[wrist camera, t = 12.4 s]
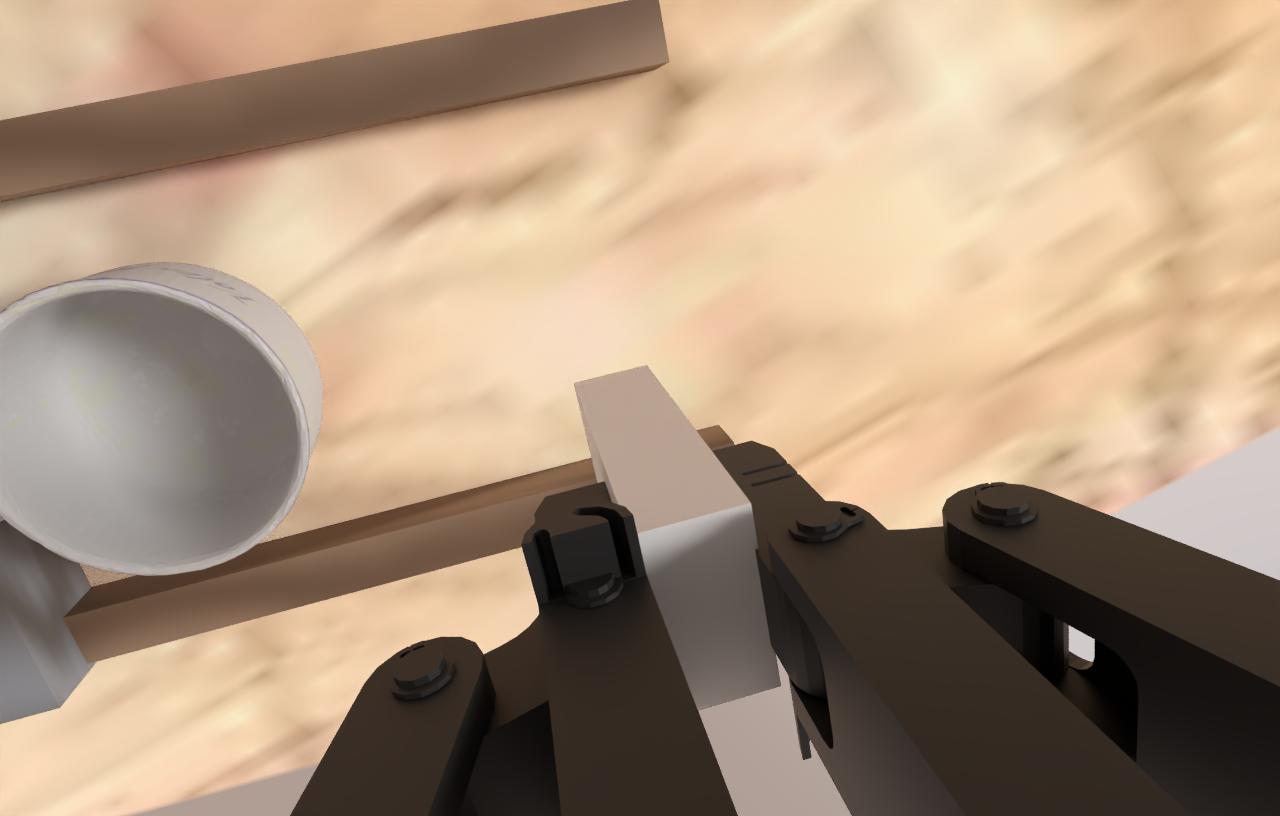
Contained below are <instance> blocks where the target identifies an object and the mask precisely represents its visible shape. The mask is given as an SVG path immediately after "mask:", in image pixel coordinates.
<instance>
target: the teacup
mask: <svg viewBox="0 0 1280 816" xmlns="http://www.w3.org/2000/svg"><path fill="white" fill-rule="evenodd" d="M322 413H323V385H322V378H321V373H320V370H319V366H318V362H317V359H316V357H315V354H314V352H313V349H312V347H311V346H310V344H309V342H308V340H307V338H306V337H305V335H304V334H303V332H302V330H301V329H300V327H299V326H298V325H297V323H296V322H295V321H294V320H293V319H292V318H291V316H290V315H289V314H288V313H287V312H286V311H285V310H284V309H283V308H282V307H281V306H279V305H278V304H277V303H276V302H275V301H274V300H272V299H271V298H270V297H268V296H267V295H266V294H264V293H263V292H262V291H260V290H259V289H257V288H255V287H254V286H252V285H250V284H248V283H246V282H244V281H243V280H241V279H238V278H236V277H234V276H231V275H228V274H226V273H223V272H220V271H217V270H214V269H210V268H206V267H202V266H198V265H191V264H183V263H166V262H162V263H144V264H136V265H130V266H124V267H119V268H116V269H112V270H108V271H104V272H101V273H97V274H94V275H91V276H88V277H85V278H82V279H79V280H75V281H69V282H64V283H61V284H57V285H53V286H49V287H47V288H44V289H41V290H39V291H36V292H33V293H31V294H28V295H26V296H24V297H23V298H22V299H20V300H18V301H16V302H14V303H12V304H10V305H9V306H8V308H6V309H4V310H3V311H1V312H0V522H1V521H3V520H4V519H5V520H6V521H7V522H8V523H9V524H11V525H12V526H13V527H15V528H16V529H18V530H19V531H20V532H22V533H23V534H24V535H26V536H27V537H29V538H30V539H32V540H34V541H36V542H38V543H40V544H42V545H43V546H44V547H46V548H47V549H48V550H50V551H52V552H54V553H56V554H58V555H60V556H62V557H64V558H66V559H69V560H71V561H74V562H77V563H79V564H82V565H85V566H89V567H93V568H97V569H101V570H105V571H109V572H115V573H121V574H130V575H144V576H156V575H171V574H178V573H185V572H191V571H197V570H203V569H206V568H209V567H212V566H215V565H218V564H221V563H224V562H226V561H228V560H231V559H233V558H235V557H237V556H239V555H240V554H242V553H244V552H246V551H248V550H249V549H251V548H252V547H253V546H255V545H256V544H258V543H259V542H260V541H261V540H263V539H264V538H265V537H266V536H267V535H269V534H270V533H271V532H272V531H273V530H274V529H275V528H276V527H277V526H278V525H279V524H280V523H281V521H282V520H283V519H284V517H285V516H286V515H287V514H288V512H289V511H290V510H291V508H292V506H293V504H294V503H295V501H296V499H297V497H298V495H299V493H300V490H301V488H302V485H303V483H304V480H305V476H306V472H307V469H308V462H309V459H310V457H311V454H312V451H313V448H314V446H315V443H316V440H317V436H318V433H319V429H320V425H321V420H322Z"/></svg>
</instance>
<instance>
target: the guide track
mask: <svg viewBox="0 0 1280 816" xmlns="http://www.w3.org/2000/svg"><path fill="white" fill-rule="evenodd" d="M668 62H669V58H668V52H667V46H666V40H665V34H664V28H663V22H662V16H661V10H660V5H659V0H629V1H624V2H619V3H614V4H608V5H603V6H598V7H593V8H587V9H582V10H577V11H572V12H566V13H561V14H556V15H551V16H546V17H540V18H535V19H530V20H525V21H519V22H514V23H509V24H504V25H498V26H493V27H488V28H483V29H477V30H472V31H467V32H462V33H456V34H451V35H446V36H441V37H436V38H430V39H425V40H420V41H415V42H409V43H404V44H399V45H394V46H388V47H383V48H378V49H373V50H367V51H362V52H357V53H352V54H346V55H341V56H336V57H331V58H326V59H320V60H315V61H310V62H305V63H299V64H294V65H289V66H284V67H278V68H273V69H268V70H263V71H257V72H252V73H247V74H242V75H236V76H231V77H226V78H221V79H215V80H210V81H205V82H200V83H195V84H189V85H184V86H179V87H174V88H168V89H163V90H158V91H153V92H147V93H142V94H137V95H132V96H126V97H121V98H116V99H111V100H105V101H100V102H95V103H90V104H85V105H79V106H74V107H69V108H64V109H58V110H53V111H48V112H43V113H37V114H32V115H27V116H22V117H16V118H11V119H6V120H1V121H0V202H2V201H7V200H12V199H17V198H22V197H27V196H32V195H36V194H41V193H46V192H51V191H56V190H61V189H66V188H71V187H76V186H81V185H86V184H91V183H96V182H101V181H106V180H111V179H116V178H121V177H126V176H130V175H135V174H140V173H145V172H150V171H155V170H160V169H165V168H170V167H175V166H180V165H185V164H190V163H195V162H200V161H205V160H210V159H215V158H220V157H224V156H229V155H234V154H239V153H244V152H249V151H254V150H259V149H264V148H269V147H274V146H279V145H284V144H289V143H294V142H299V141H304V140H309V139H314V138H318V137H323V136H328V135H333V134H338V133H343V132H348V131H353V130H358V129H363V128H368V127H373V126H378V125H383V124H388V123H393V122H398V121H403V120H408V119H412V118H417V117H422V116H427V115H432V114H437V113H442V112H447V111H452V110H457V109H462V108H467V107H472V106H477V105H482V104H487V103H492V102H497V101H502V100H506V99H511V98H516V97H521V96H526V95H531V94H536V93H541V92H546V91H551V90H556V89H561V88H566V87H571V86H576V85H581V84H586V83H591V82H596V81H600V80H605V79H610V78H615V77H620V76H625V75H630V74H635V73H640V72H645V71H650V70H655V69H658V68H659V67H661V66H663V65H665V64H666V63H668ZM697 432H698V434H699V435H700V436H701V437H702V439H703V440H704V441H705V443H706V444H707V445H708V447H709V448H710V449H711V451H714V450H718V449H722V448H726V447H729V446H733V445H734V442H733V441H732V440H731V438H730V437H729V436H728V435H727V434H726V433H725V432H724V430H723V429H722V428H721V427H720V426H719V425H718V426H714V427H710V428H706V429H702V430H698V431H697ZM596 483H597V479H596V474H595V470H594V466H593V462H592V458H590V459H586V460H582V461H579V462H575V463H571V464H567V465H563V466H559V467H555V468H551V469H548V470H544V471H540V472H536V473H532V474H528V475H524V476H521V477H517V478H513V479H509V480H505V481H501V482H497V483H493V484H490V485H486V486H482V487H478V488H474V489H470V490H466V491H463V492H459V493H455V494H451V495H447V496H443V497H439V498H436V499H432V500H428V501H424V502H420V503H416V504H412V505H408V506H405V507H401V508H397V509H393V510H389V511H385V512H381V513H378V514H374V515H370V516H366V517H362V518H358V519H354V520H350V521H347V522H343V523H339V524H335V525H331V526H327V527H323V528H320V529H316V530H312V531H308V532H304V533H300V534H296V535H293V536H289V537H285V538H281V539H277V540H273V541H269V542H265V543H262V544H258V545H255V546H253V547H252V548H251V549H249V550H248V551H246V552H244V553H242V554H240V555H239V556H237V557H235V558H233V559H231V560H228V561H226V562H224V563H221V564H218V565H215V566H212V567H209V568H206V569H203V570H197V571H191V572H185V573H178V574H171V575H156V576H144V575H138V576H134V577H130V578H126V579H122V580H119V581H115V582H111V583H107V584H103V585H99V586H95V587H92V588H91V586H90V584H89V582H88V580H87V578H86V576H85V574H84V572H83V570H82V568H81V566H80V564H79V563H77V562H74V561H71V560H69V559H66V558H64V557H62V556H60V555H58V554H56V553H54V552H52V551H50V550H48V549H47V548H46V547H44V546H43V545H42V544H40V543H38V542H36V541H34V540H32V539H30V538H29V537H27V536H26V535H24V534H23V533H22V532H20V531H19V530H18V529H16V528H15V527H13V526H12V525H11V524H9V523H8V522H7V521H6V520H5V519H4V520H3V521H1V522H0V724H2V723H6V722H10V721H13V720H17V719H20V718H24V717H28V716H31V715H35V714H39V713H42V712H46V711H50V710H53V709H57V708H60V707H61V706H62V705H63V703H64V702H65V701H66V700H67V698H68V697H69V696H70V694H71V693H72V692H73V691H74V689H75V688H76V687H77V686H78V684H79V683H80V682H81V681H82V679H83V678H84V677H85V676H86V674H87V673H88V672H89V671H90V669H91V668H92V667H93V665H94V664H95V663H96V662H97V661H100V660H104V659H107V658H111V657H115V656H119V655H122V654H126V653H130V652H133V651H137V650H141V649H145V648H148V647H152V646H156V645H159V644H163V643H167V642H171V641H174V640H178V639H182V638H185V637H189V636H193V635H197V634H200V633H204V632H208V631H211V630H215V629H219V628H223V627H226V626H230V625H234V624H237V623H241V622H245V621H249V620H252V619H256V618H260V617H263V616H267V615H271V614H275V613H278V612H282V611H286V610H289V609H293V608H297V607H301V606H304V605H308V604H312V603H315V602H319V601H323V600H327V599H330V598H334V597H338V596H341V595H345V594H349V593H353V592H356V591H360V590H364V589H367V588H371V587H375V586H379V585H382V584H386V583H390V582H393V581H397V580H401V579H405V578H408V577H412V576H416V575H419V574H423V573H427V572H431V571H434V570H438V569H442V568H445V567H449V566H453V565H457V564H460V563H464V562H468V561H471V560H475V559H479V558H483V557H486V556H490V555H494V554H497V553H501V552H505V551H509V550H512V549H516V548H520V547H522V546H521V544H522V540H523V537H524V534H525V532H526V531H527V530H528V529H529V528H530V527H531V526H532V525H533V524H534V523H535V517H534V513H535V512H536V510H537V509H538V507H539V505H540V504H541V502H542V501H543V499H544V498H545V497H546V496H550V495H553V494H557V493H561V492H565V491H569V490H573V489H577V488H580V487H584V486H588V485H592V484H596Z"/></svg>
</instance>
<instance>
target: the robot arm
mask: <svg viewBox="0 0 1280 816" xmlns="http://www.w3.org/2000/svg"><path fill="white" fill-rule="evenodd" d="M574 386H575V390H576V394H577V399H578V403H579V407H580V411H581V416H582V420H583V424H584V428H585V432H586V437H587V441H588V445H589V449H590V453H591V458H592V462H593V466H594V470H595V474H596V479H597V483H596V484H592V485H588V486H584V487H580V488H577V489H573V490H569V491H565V492H561V493H557V494H553V495H550V496H546V497H545V498H544V499H543V501H542V502H541V504H540V505H539V507H538V509H537V510H536V512H535V513H534V517H535V523H534V524H533V525H532V526H531V527H530V528H529V529H528V530H527V531H526V532H525V534H524V537H523V540H522V544H521V546H522V549H523V553H524V556H525V560H526V563H527V567H528V570H529V574H530V577H531V581H532V584H533V588H534V591H535V595H536V598H537V602H538V606H539V615H538V617H537V618H536V619H535V620H534V622H533V623H532V624H531V625H530V626H529V627H528V628H527V629H526V630H524V631H523V632H522V633H521V634H520V635H518V636H517V637H515V638H514V639H512V640H510V641H509V642H507V643H505V644H504V645H502V646H500V647H498V648H496V649H494V650H492V651H490V652H488V653H486V654H484V655H483V653H482V651H481V650H480V648H479V647H478V645H477V644H476V643H475V642H473V641H470V640H468V639H465V638H462V637H439V638H435V639H431V640H427V641H421V642H418V643H416V644H413V645H411V646H410V647H406V648H405V649H403V650H401V651H399V652H398V653H396V654H395V655H393V656H392V657H391V658H389V659H388V660H387V661H385V662H384V663H383V664H381V665H380V666H379V667H377V669H376V670H375V671H374V672H373V674H372V675H371V676H370V677H369V679H368V680H367V681H366V682H365V684H364V685H363V687H362V689H361V691H360V693H359V694H358V696H357V698H356V700H355V701H354V703H353V705H352V707H351V708H350V710H349V712H348V714H347V716H346V717H345V719H344V721H343V723H342V724H341V726H340V728H339V730H338V732H337V733H336V735H335V737H334V739H333V740H332V742H331V744H330V746H329V747H328V749H327V751H326V753H325V755H324V756H323V758H322V760H321V762H320V763H319V765H318V767H317V769H316V771H315V772H314V774H313V776H312V778H311V780H310V781H309V783H308V785H307V787H306V788H305V790H304V792H303V794H302V795H301V797H300V799H299V801H298V802H297V804H296V806H295V808H294V810H293V811H292V813H291V815H290V816H738V815H737V812H736V810H735V807H734V804H733V802H732V799H731V797H730V794H729V791H728V789H727V786H726V783H725V781H724V778H723V776H722V773H721V770H720V767H719V765H718V762H717V760H716V757H715V754H714V752H713V749H712V746H711V744H710V741H709V738H708V736H707V733H706V730H705V728H704V725H703V723H702V720H701V717H700V715H699V712H698V711H699V710H702V709H705V708H709V707H712V706H715V705H719V704H722V703H726V702H729V701H732V700H735V699H738V698H742V697H745V696H749V695H752V694H756V693H759V692H762V691H765V690H769V689H773V688H776V687H779V686H781V683H780V677H779V671H778V665H777V659H776V655H777V656H778V658H779V659H780V661H781V663H782V665H783V666H784V668H785V670H786V672H787V673H788V675H789V682H790V688H791V694H792V700H793V707H794V713H795V719H796V726H797V732H798V738H799V744H800V749H801V753H802V758H803V760H805V759H809V758H811V751H810V745H809V742H810V740H811V742H812V743H813V745H814V747H815V749H816V751H817V753H818V755H819V756H820V758H821V760H822V762H823V764H824V766H825V767H826V769H827V771H828V773H829V775H830V777H831V778H832V780H833V782H834V784H835V786H836V788H837V789H838V791H839V793H840V795H841V797H842V799H843V800H844V802H845V804H846V806H847V808H848V810H849V811H850V813H851V815H852V816H1280V580H1277V579H1274V578H1272V577H1269V576H1266V575H1264V574H1261V573H1259V572H1256V571H1254V570H1251V569H1248V568H1246V567H1243V566H1241V565H1238V564H1235V563H1233V562H1230V561H1227V560H1225V559H1222V558H1220V557H1217V556H1214V555H1212V554H1209V553H1207V552H1204V551H1201V550H1198V549H1196V548H1193V547H1191V546H1188V545H1186V544H1183V543H1180V542H1177V541H1175V540H1172V539H1170V538H1167V537H1165V536H1162V535H1159V534H1157V533H1154V532H1152V531H1149V530H1146V529H1144V528H1141V527H1139V526H1136V525H1133V524H1131V523H1128V522H1125V521H1123V520H1120V519H1118V518H1115V517H1112V516H1110V515H1107V514H1105V513H1102V512H1099V511H1097V510H1094V509H1091V508H1089V507H1086V506H1084V505H1081V504H1078V503H1076V502H1073V501H1071V500H1068V499H1065V498H1063V497H1060V496H1057V495H1055V494H1052V493H1050V492H1047V491H1044V490H1041V489H1037V488H1033V487H1029V486H1025V485H1017V484H1007V483H1004V482H995V483H991V484H988V483H985V484H980V485H976V486H974V487H971V488H967V489H964V490H961V491H958V492H957V493H955V494H954V495H952V496H951V497H950V498H948V499H947V500H946V502H945V505H944V507H943V509H942V513H943V526H942V527H930V528H918V529H907V530H887V529H886V528H885V527H884V526H883V525H882V524H881V523H880V522H879V521H878V520H877V519H875V518H874V517H873V516H872V515H871V514H870V513H869V512H867V511H865V510H864V509H862V508H860V507H858V506H856V505H852V504H848V503H844V502H839V501H825V500H824V499H823V498H822V497H821V496H820V495H819V494H818V493H817V492H816V491H815V490H814V489H813V488H812V487H811V486H810V485H809V484H808V483H807V482H806V481H805V480H804V479H803V478H802V477H801V476H800V475H798V474H797V472H796V471H795V469H794V468H793V467H792V466H791V465H790V464H787V461H786V460H785V459H784V458H783V457H782V456H781V455H780V454H779V453H778V452H777V451H776V450H775V449H774V448H771V447H768V446H765V445H762V444H759V443H757V442H754V441H749V442H745V443H741V444H737V445H733V446H729V447H726V448H722V449H718V450H714V451H711V449H710V448H709V447H708V445H707V444H706V443H705V441H704V440H703V439H702V437H701V436H700V435H699V434H698V432H697V431H696V430H695V428H694V427H693V426H692V424H691V423H690V422H689V420H688V419H687V418H686V416H685V415H684V414H683V412H682V411H681V410H680V408H679V407H678V406H677V404H676V403H675V402H674V400H673V399H672V398H671V397H670V395H669V394H668V393H667V391H666V390H665V389H664V387H663V386H662V385H661V383H660V382H659V381H658V379H657V378H656V377H655V375H654V374H653V373H652V371H651V370H650V369H649V367H648V366H647V365H646V366H642V367H637V368H633V369H629V370H625V371H621V372H617V373H613V374H609V375H605V376H601V377H596V378H592V379H588V380H584V381H580V382H576V383H574ZM1068 625H1070V626H1071V627H1073V628H1075V629H1077V630H1079V631H1081V632H1083V633H1084V634H1086V635H1088V636H1090V637H1092V638H1094V639H1095V658H1094V661H1093V662H1090V661H1087V660H1085V659H1082V658H1080V657H1078V656H1076V655H1074V654H1073V653H1071V652H1070V651H1069V649H1068V648H1069V638H1068V637H1069V635H1068V634H1069V632H1068V631H1069V628H1068Z"/></svg>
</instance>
